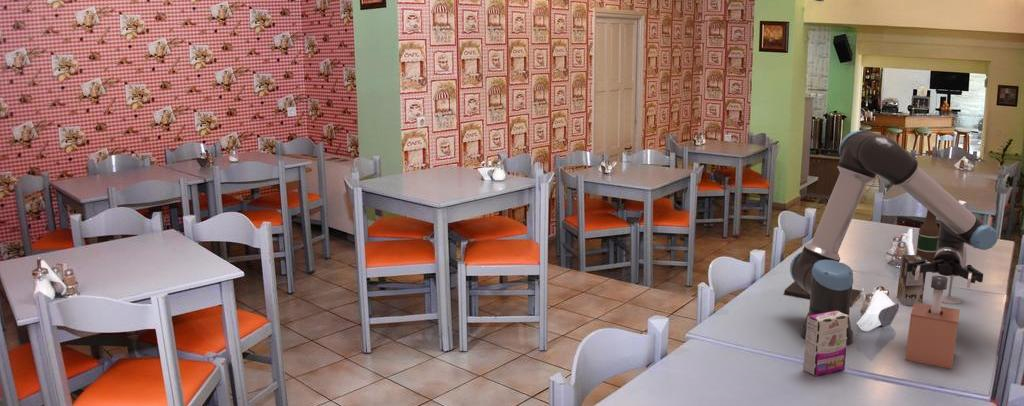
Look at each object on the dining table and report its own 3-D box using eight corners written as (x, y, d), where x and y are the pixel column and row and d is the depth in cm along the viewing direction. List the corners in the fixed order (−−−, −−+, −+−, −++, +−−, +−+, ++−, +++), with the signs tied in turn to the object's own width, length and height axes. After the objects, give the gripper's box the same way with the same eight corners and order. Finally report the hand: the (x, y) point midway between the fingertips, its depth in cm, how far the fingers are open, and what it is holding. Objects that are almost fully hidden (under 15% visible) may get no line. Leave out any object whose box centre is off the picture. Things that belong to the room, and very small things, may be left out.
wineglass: (963, 300, 286) (971, 243, 282) (957, 305, 281) (965, 247, 276) (940, 295, 291) (947, 239, 287) (934, 300, 286) (941, 243, 281)
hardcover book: (796, 284, 304) (796, 279, 303) (860, 296, 291) (861, 290, 291) (783, 296, 291) (784, 290, 290) (850, 309, 278) (851, 302, 278)
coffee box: (922, 306, 279) (928, 262, 276) (902, 305, 281) (908, 260, 277) (915, 298, 288) (920, 254, 285) (896, 296, 289) (901, 253, 286)
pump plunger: (923, 344, 238) (932, 274, 234) (939, 346, 236) (948, 277, 232) (921, 352, 232) (930, 281, 227) (937, 355, 230) (946, 283, 225)
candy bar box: (831, 363, 231) (836, 309, 227) (844, 370, 227) (850, 315, 223) (801, 370, 227) (806, 314, 223) (814, 377, 222) (819, 320, 219)
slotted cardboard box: (909, 346, 244) (914, 302, 241) (953, 354, 238) (959, 309, 235) (905, 359, 234) (910, 314, 231) (951, 368, 228) (958, 322, 225)
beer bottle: (937, 259, 337) (944, 203, 332) (935, 263, 331) (942, 206, 326) (916, 256, 341) (923, 201, 336) (914, 260, 335) (921, 204, 330)
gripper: (991, 279, 247) (989, 299, 229) (902, 267, 260) (894, 284, 242) (994, 256, 245) (993, 273, 228) (904, 244, 258) (896, 260, 240)
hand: (942, 279), depth 235 cm, fingers open, 13 cm apart
